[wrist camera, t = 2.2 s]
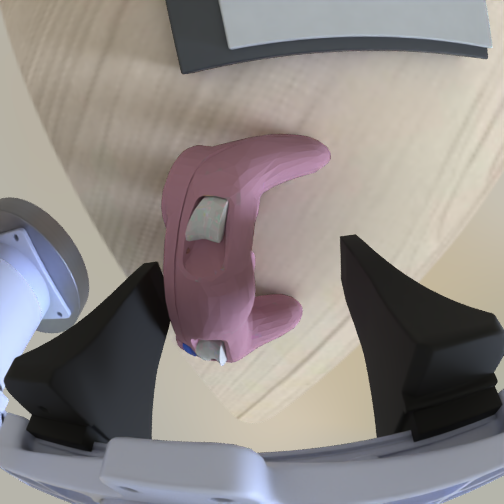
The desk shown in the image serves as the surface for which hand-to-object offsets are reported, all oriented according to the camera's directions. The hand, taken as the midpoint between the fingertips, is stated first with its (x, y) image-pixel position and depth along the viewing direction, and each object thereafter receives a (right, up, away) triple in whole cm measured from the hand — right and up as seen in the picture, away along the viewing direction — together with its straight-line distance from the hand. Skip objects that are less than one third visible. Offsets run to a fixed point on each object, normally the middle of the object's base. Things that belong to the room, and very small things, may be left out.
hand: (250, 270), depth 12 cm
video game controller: (0, +2, +3) cm, 4 cm away
